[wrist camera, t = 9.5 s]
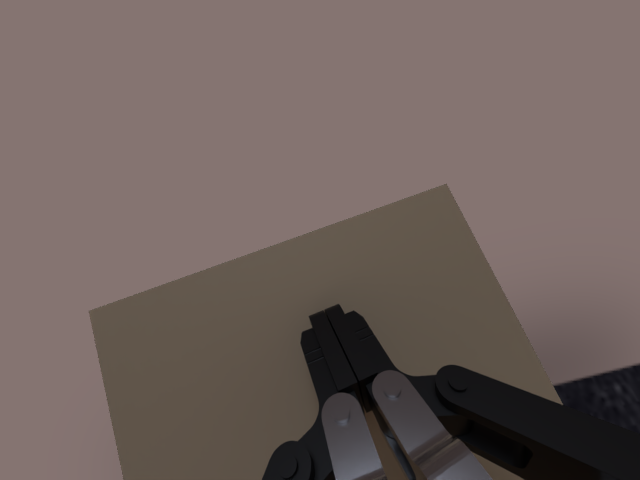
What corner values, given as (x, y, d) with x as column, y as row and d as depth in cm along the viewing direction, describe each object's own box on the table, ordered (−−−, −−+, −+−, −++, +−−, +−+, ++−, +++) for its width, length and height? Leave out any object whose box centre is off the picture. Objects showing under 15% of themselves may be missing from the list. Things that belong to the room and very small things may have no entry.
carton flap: (446, 183, 15) (440, 188, 16) (88, 310, 12) (98, 310, 12) (607, 489, 12) (593, 480, 13) (184, 774, 9) (191, 745, 9)
